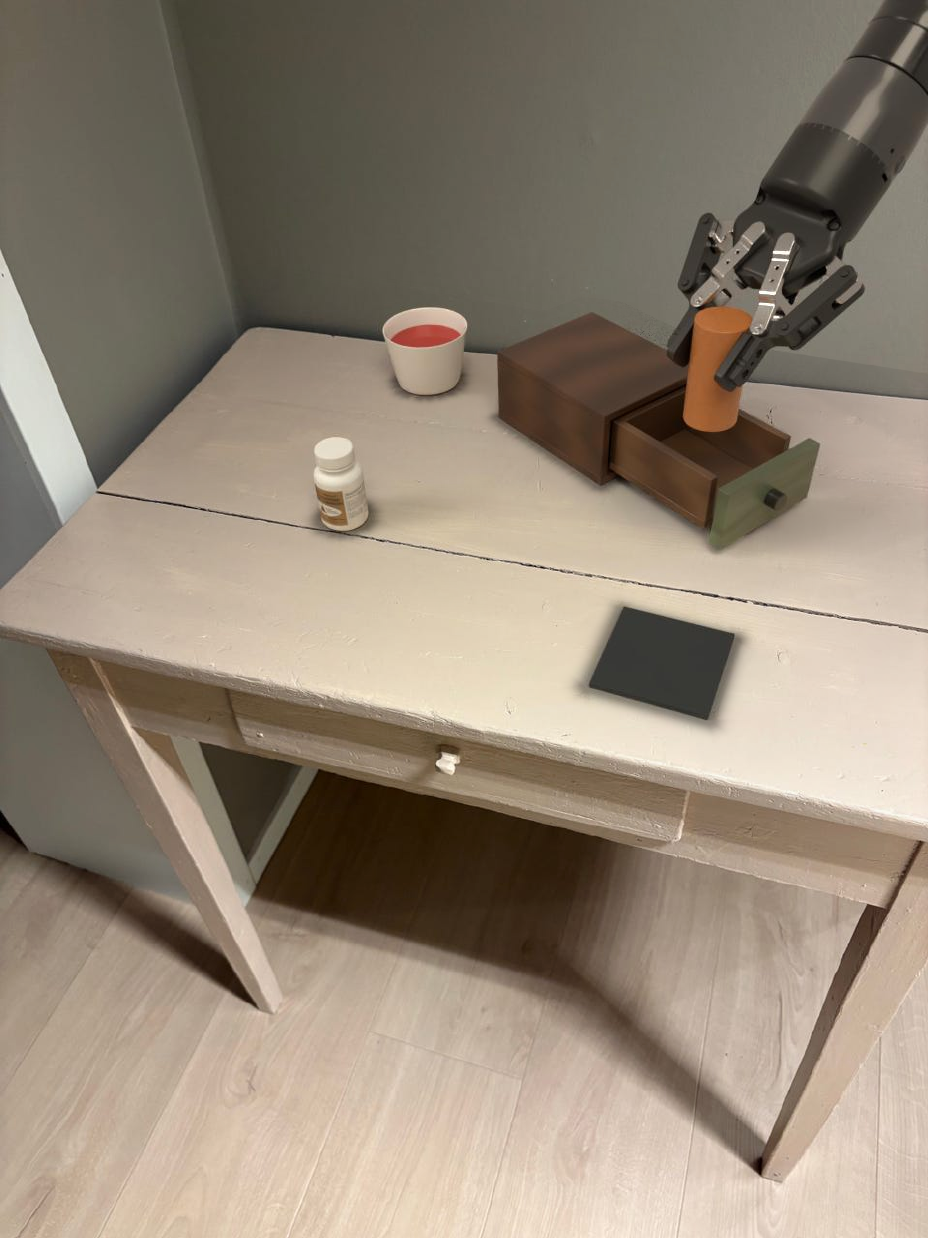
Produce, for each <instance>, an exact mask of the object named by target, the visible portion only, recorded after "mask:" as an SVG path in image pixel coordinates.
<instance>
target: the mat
mask: <svg viewBox="0 0 928 1238" xmlns="http://www.w3.org/2000/svg"><path fill="white" fill-rule="evenodd" d="M620 611H621V612H620V613H619V616H618V618H617V620H616V622H615V625H614V627H613V630H612V631H611V633H610V636H609V638H608V641H607V642H606V645H605V647H604V649H603V652H602V654H601V656H600V658H599V661H598V663H597V665H596V668H595V669H594V672H593V674H592V676H591V679H590V680H589V684H588V685H589V686H588V687H589V688H591V689H595V690H599V691H601V692H606V693H610V694H613V695H617V696H619V697H624V698H627V699H631V700H635V701H637V702H641V703H646V704H649V705H653V706H655V707H660V708H664V709H667V710H672V711H674V712H678V713H681V714H686V715H688V716H691V717H696V718H699V719H702V720H709V717H710V714H711V711H712V707H713V704H714V701H715V698H716V695H717V693H718V689H719V686H720V683H721V680H722V677H723V673H724V671H725V667H726V664H727V661H728V659H729V658H728V657H729V655H730V652H731V649H732V645H733V643H734V639H735V635H736V634H735V633H734V632H730V631H725V630H721V629H717V628H715V627H714V628H713V627H710V626H705V625H701V624H697V623H693V622H688V621H684V620H680V619H677V618H673V617H669V616H665V615H661V614H656V613H653V612H648V611H644V610H641V609H637V608H634V607H633V608H632V607H629V606H625V605H624V606H623V607H622V609H621V610H620Z"/></svg>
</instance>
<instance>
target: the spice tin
mask: <svg viewBox="0 0 928 1238" xmlns="http://www.w3.org/2000/svg"><path fill="white" fill-rule="evenodd" d="M752 320H753V316H752V315H751V314H750V313H749V312H747V311H745V310H744V309H741V308H737V307H732V306H728V307H726V306H717V307H710V308H706V309H703V310H701V311H700V312H698V313H697V314H696V316H695V319H694V328H693V336H692V344H691V352H690V361H689V369H688V377H687V386H686V394H685V402H684V411H683V419H684V421H685V422H686V424H688V425H689V426H690V427H692V428H694V429H697V430H700V431H705V432H719V431H724V430H727V429H729V428H731V427H732V426H734V425H735V423H736V421H737V416H738V410H739V409H740V404H741V397H742V392H743V387H744V385H742V386H741V387H738V386H737V387H736V388H735V390H734V391H732V392H729V391H727V390H725V389H723V388H721V387H720V386H719V385H718V384H717V383H716V382H715V381H714V375H715V373H716V371H717V370H718V368H719V367H720V365H721V364H722V362H723V361H724V359H725V358H726V356H727V355H728V354H729V352H730V351H731V349H732V348H733V346H734V345H735V343H736V342H737V340H738V339H739V337H740V336H741V334H742V333H743V332H746V333H749V332H750V325H751V322H752Z"/></svg>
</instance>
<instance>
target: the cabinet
mask: <svg viewBox="0 0 928 1238" xmlns="http://www.w3.org/2000/svg"><path fill="white" fill-rule="evenodd" d="M667 350H668V349H666V348H663V347H662V346H660V345H658V344H656V343H654V342H652V341H650V340H648V339H646V338H644V337H642V336H640V335H638V334H636V333H634V332H632V331H630V330H629V329H627V328H626V327H623V326H622V325H621V326H620V325H619V324H617V323H615V322H613V321H611V320H609V319H607V318H605V317H603V316H602V315H599V314H597V313H595V312H593V311H591V312H588V313H586V314H583V315H581V316H578V317H576V318H574V319H571V320H569V321H567V322H564V323H562V324H560V325H557V326H555V327H553V328H550V329H548V330H545V331H543V332H541V333H538V334H535V335H534V336H532V337H528V338H527V339H524V340H521V341H519V342H517V343H514V344H512V345H510V346H508V347H505V348H503V349H500V350H498V351H496V355H497V359H496V360H497V362H496V365H497V397H498V399H497V401H498V402H497V403H498V418H499V419H500V420H502V421H503V422H505V423H506V424H508V425H509V426H510V427H512V428H514V429H515V430H517V431H518V432H520V433H522V434H523V435H524V436H526V437H527V438H528V439H530V440H532V441H533V442H535V443H536V444H537V445H540V447H542V448H544V449H545V450H547V451H548V452H549V453H551V454H552V455H554V456H555V457H557V458H558V459H560V460H562V461H563V462H565V463H566V464H567V465H569V466H570V467H572V468H574V469H575V470H576V471H578V472H580V473H581V474H583V475H584V476H586V477H587V478H588V479H590V480H592V481H593V482H595V483H596V484H597V485H599V486H601V485H604V484H606V483H608V482H610V481H611V480H613V479H615V478H617V477H620V475H619V474H617V473H616V472H614V471H613V470H611V469H610V452H611V438H612V424H613V420H615V419H617V418H619V417H621V416H623V415H625V414H627V413H629V412H632V411H634V410H636V409H638V408H640V407H642V406H644V405H646V404H648V403H650V402H652V401H654V400H656V399H658V398H660V397H662V396H664V395H666V394H669V393H671V392H673V391H675V390H677V389H679V388H681V387H683V386H685V385H687V377H688V369H689V363H688V365H687V366H686V367H680V366H679V365H677V364H675V363H674V362H673V361H672V360H670V359H669V358H668V357H667Z"/></svg>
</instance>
